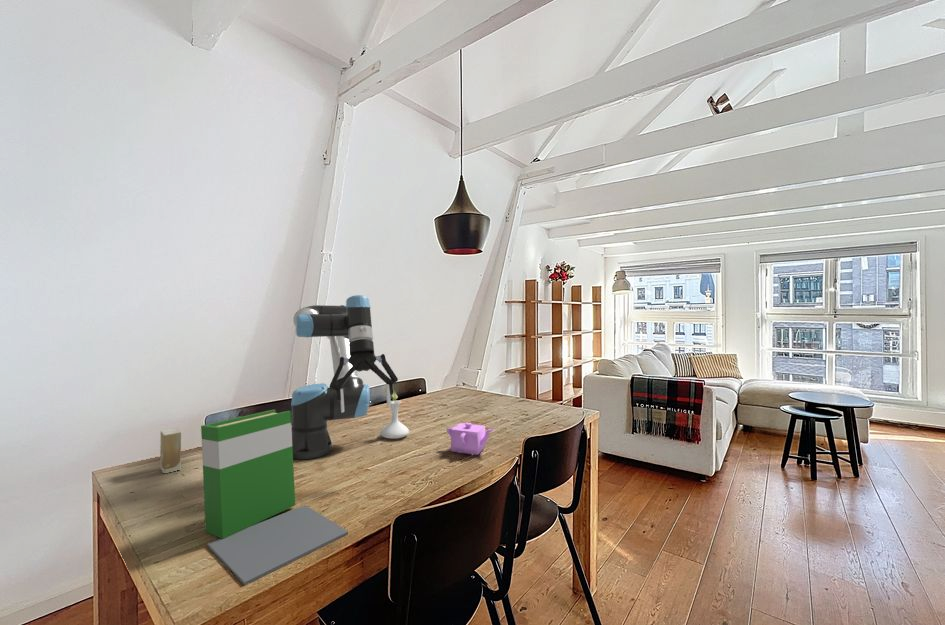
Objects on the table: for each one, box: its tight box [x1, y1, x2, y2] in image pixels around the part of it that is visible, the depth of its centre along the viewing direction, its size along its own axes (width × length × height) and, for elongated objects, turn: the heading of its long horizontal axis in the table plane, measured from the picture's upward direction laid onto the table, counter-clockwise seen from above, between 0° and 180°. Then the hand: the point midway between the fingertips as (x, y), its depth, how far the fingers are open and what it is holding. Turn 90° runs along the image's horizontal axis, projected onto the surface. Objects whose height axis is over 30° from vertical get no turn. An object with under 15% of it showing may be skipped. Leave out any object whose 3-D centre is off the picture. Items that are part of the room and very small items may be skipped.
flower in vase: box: [379, 377, 410, 440], centre depth 159 cm, size 13×11×25 cm
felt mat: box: [206, 504, 349, 586], centre depth 89 cm, size 19×22×1 cm
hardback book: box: [200, 409, 296, 539], centre depth 98 cm, size 18×7×24 cm, turn 149°
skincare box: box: [159, 427, 182, 474], centre depth 125 cm, size 6×4×12 cm
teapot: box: [446, 422, 495, 456], centre depth 144 cm, size 18×14×10 cm
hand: (366, 409), depth 121 cm, fingers open, 13 cm apart
